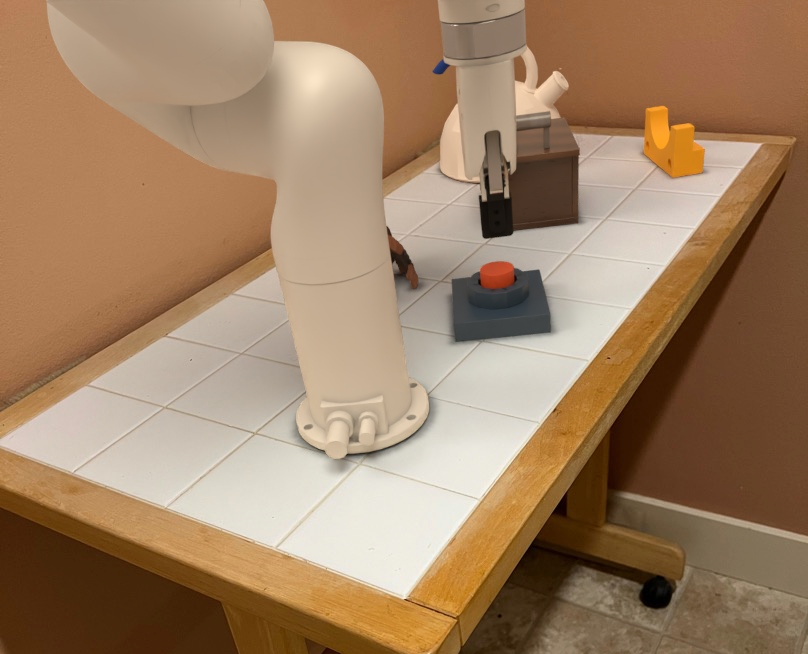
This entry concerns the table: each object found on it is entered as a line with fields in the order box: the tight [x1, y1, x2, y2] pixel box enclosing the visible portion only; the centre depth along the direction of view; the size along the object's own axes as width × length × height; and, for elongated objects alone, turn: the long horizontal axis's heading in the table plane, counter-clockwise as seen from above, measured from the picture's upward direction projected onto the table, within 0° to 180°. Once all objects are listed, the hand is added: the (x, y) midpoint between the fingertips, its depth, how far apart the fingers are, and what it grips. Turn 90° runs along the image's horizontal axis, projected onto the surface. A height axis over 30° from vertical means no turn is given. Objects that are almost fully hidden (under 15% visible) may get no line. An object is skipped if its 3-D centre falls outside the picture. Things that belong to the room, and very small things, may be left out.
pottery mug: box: [386, 225, 419, 290], centre depth 98 cm, size 12×10×8 cm
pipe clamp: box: [643, 105, 706, 179], centre depth 117 cm, size 12×4×6 cm, turn 6°
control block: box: [451, 267, 552, 343], centre depth 88 cm, size 11×10×4 cm
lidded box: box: [508, 155, 580, 231], centre depth 109 cm, size 14×12×9 cm
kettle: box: [432, 44, 570, 184], centre depth 124 cm, size 20×21×18 cm
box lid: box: [516, 111, 581, 163], centre depth 105 cm, size 14×12×5 cm
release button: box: [479, 260, 515, 289], centre depth 87 cm, size 4×4×2 cm
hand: (497, 233), depth 84 cm, fingers closed
